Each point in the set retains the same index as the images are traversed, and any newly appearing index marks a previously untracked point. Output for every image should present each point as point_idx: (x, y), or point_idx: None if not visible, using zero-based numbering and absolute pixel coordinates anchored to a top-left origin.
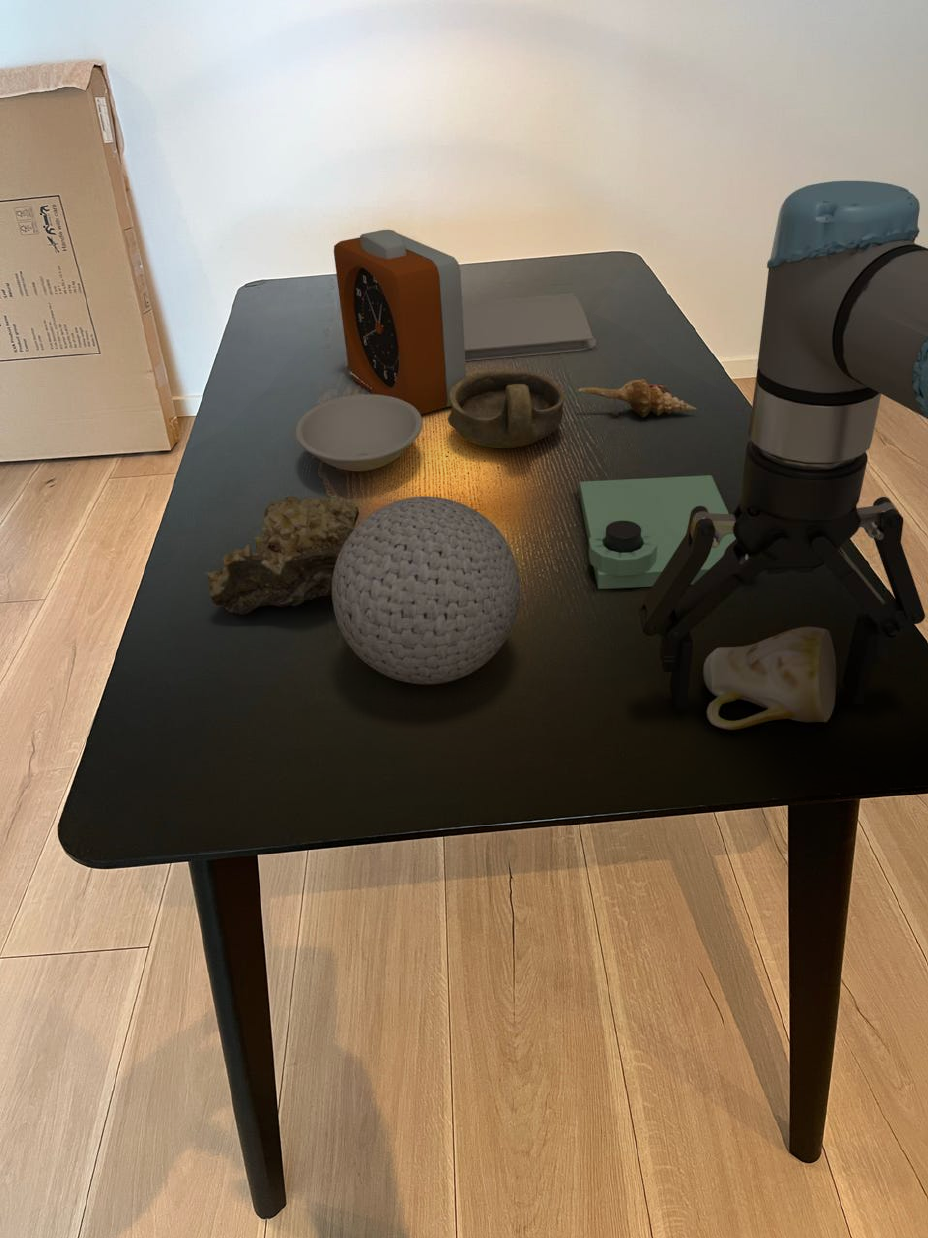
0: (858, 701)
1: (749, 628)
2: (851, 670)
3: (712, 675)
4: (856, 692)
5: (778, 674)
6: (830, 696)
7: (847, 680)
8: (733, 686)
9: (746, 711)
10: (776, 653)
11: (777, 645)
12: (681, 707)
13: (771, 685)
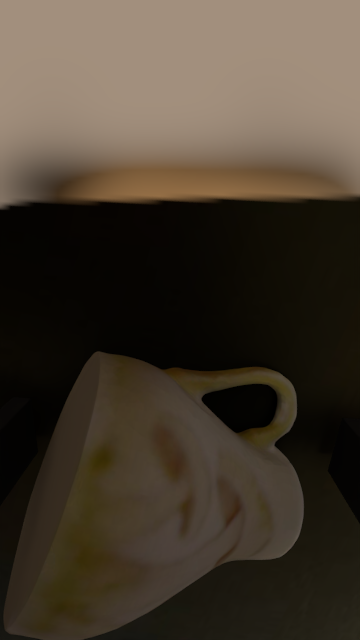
0: (19, 400)
1: None
2: (4, 469)
3: (298, 490)
4: (13, 416)
5: (194, 472)
6: (67, 410)
7: (25, 449)
8: (261, 458)
9: (217, 410)
10: (187, 550)
11: (176, 580)
12: (356, 424)
13: (208, 442)
